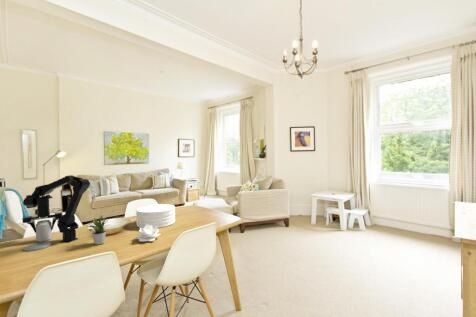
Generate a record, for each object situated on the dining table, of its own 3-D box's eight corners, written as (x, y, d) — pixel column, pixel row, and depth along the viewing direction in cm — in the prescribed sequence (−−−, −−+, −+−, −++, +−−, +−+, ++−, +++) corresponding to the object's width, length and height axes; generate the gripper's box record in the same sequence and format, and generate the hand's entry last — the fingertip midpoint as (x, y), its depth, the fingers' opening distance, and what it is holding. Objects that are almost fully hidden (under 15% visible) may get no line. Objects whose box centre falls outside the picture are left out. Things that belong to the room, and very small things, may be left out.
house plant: (87, 240, 144) (86, 213, 144) (112, 236, 149) (112, 211, 149) (82, 248, 131) (81, 219, 131) (110, 244, 136) (110, 216, 136)
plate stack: (182, 220, 185) (182, 206, 185) (152, 230, 161) (152, 214, 161) (159, 216, 200) (158, 202, 200) (128, 224, 176) (128, 209, 176)
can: (42, 242, 140) (42, 222, 140) (32, 242, 142) (32, 222, 142) (54, 238, 148) (54, 219, 148) (45, 237, 149) (44, 218, 149)
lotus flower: (138, 244, 135) (138, 229, 135) (133, 237, 147) (132, 223, 147) (163, 239, 143) (163, 225, 143) (156, 233, 156) (156, 220, 156)
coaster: (56, 243, 138) (56, 242, 138) (34, 252, 127) (34, 250, 127) (40, 242, 141) (40, 241, 141) (17, 250, 129) (17, 248, 129)
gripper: (62, 202, 157) (62, 225, 157) (24, 206, 146) (25, 231, 146) (62, 204, 148) (62, 229, 148) (22, 209, 137) (22, 235, 137)
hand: (43, 231), depth 145 cm, fingers closed on can, 7 cm apart
